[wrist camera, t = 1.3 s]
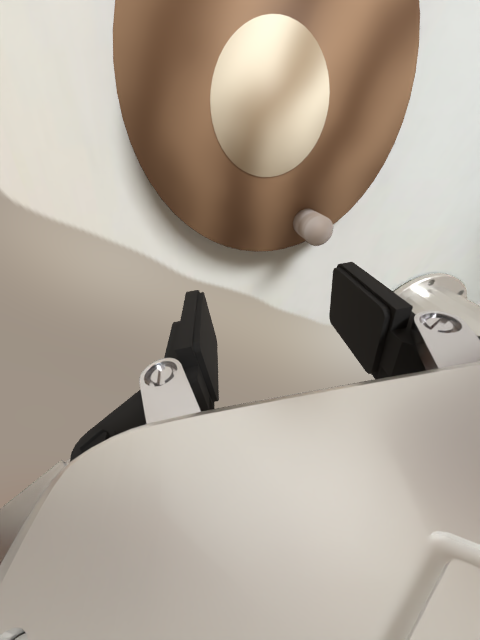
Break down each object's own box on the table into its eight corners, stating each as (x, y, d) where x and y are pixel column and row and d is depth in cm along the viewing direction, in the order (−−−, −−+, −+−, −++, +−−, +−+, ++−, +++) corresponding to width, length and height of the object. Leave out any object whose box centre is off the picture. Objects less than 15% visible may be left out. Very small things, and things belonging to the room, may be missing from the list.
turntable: (465, -14, 17) (562, -80, 12) (315, 268, 28) (335, 290, 23) (138, -287, 11) (84, -611, 6) (115, 205, 22) (89, 218, 18)
